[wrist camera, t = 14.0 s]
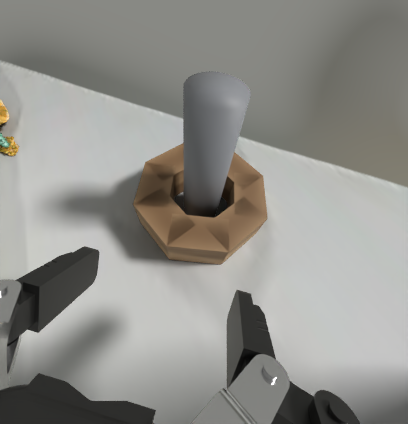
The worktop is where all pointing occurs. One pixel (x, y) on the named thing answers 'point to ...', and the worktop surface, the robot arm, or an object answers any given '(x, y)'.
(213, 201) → the dowel
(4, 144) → the green toy figurine
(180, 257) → the brown wooden ring
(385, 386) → the worktop surface
